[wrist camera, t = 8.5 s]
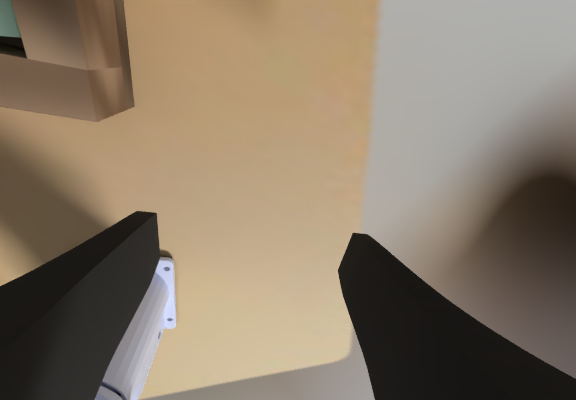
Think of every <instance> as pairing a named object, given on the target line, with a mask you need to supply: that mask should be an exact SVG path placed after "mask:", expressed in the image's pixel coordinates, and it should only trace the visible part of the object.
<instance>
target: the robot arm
mask: <svg viewBox="0 0 576 400" xmlns="http://www.w3.org/2000/svg"><path fill="white" fill-rule="evenodd" d="M167 267H169V268H167ZM338 274H339V279H340V284H341V289H342V293H343V297H344V300H345V303H346V306H347V309H348V312H349V315H350V318H351V321H352V323H353V326H354V329H355V332H356V335H357V338H358V341H359V344H360V346H361V349H362V352H363V356H364V359H365V362H366V365H367V369H368V373H369V377H370V381H371V385H372V389H373V393H374V397H375V400H576V379H575V378H573V377H571V376H569V375H568V374H566V373H564V372H562V371H560V370H558V369H557V368H555V367H553V366H551V365H549V364H547V363H546V362H544V361H542V360H541V359H539V358H537V357H535V356H534V355H532V354H530V353H528V352H527V351H525V350H523V349H521V348H520V347H518V346H517V345H515V344H514V343H512V342H510V341H509V340H507V339H505V338H504V337H502V336H501V335H499V334H497V333H496V332H494V331H493V330H491V329H490V328H488V327H486V326H485V325H483V324H482V323H480V322H479V321H477V320H476V319H474V318H473V317H472V316H470V315H469V314H467V313H466V312H464V311H463V310H461V309H460V308H459V307H457V306H456V305H454V304H453V303H451V302H450V301H449V300H448V299H446V298H445V297H443V296H442V295H441V294H440V293H438V292H437V291H436V290H435V289H433V288H432V287H431V286H429V285H428V284H427V283H426V282H424V281H423V280H422V279H421V278H419V277H418V276H417V275H416V274H415V273H413V272H412V271H411V270H410V269H409V268H407V267H406V266H405V265H404V264H403V263H402V262H400V261H399V260H398V259H397V258H395V256H393V255H392V254H391V253H390V252H389V251H388V250H386V249H385V248H384V247H383V246H381V245H380V244H379V243H378V242H377V241H376V240H374V239H373V238H372V237H370V236H369V235H367V234H359V233H353V234H352V237H351V239H350V242H349V244H348V247H347V249H346V252H345V254H344V256H343V259H342V261H341V264H340V266H339V269H338ZM176 323H177V322H176V298H175V273H174V261H173V260H172V259H171V258H168V257H160V249H159V237H158V225H157V213H151V212H142V211H136V212H135V213H133V214H131V215H129V216H128V217H126V218H124V219H122V220H121V221H119V222H117V223H116V224H114V225H112V226H111V227H109V228H108V229H106V230H104V231H103V232H101V233H99V234H97V235H96V236H94V237H92V238H91V239H89V240H87V241H85V242H84V243H82V244H80V245H79V246H77V247H75V248H73V249H71V250H70V251H68V252H66V253H64V254H62V255H60V256H59V257H57V258H55V259H53V260H51V261H49V262H47V263H46V264H44V265H42V266H40V267H38V268H36V269H34V270H33V271H31V272H29V273H27V274H25V275H23V276H21V277H19V278H17V279H14V280H12V281H10V282H8V283H6V284H4V285H2V286H0V400H138V398H139V396H140V395H141V392H142V390H143V388H144V385H145V382H146V379H147V376H148V374H149V371H150V368H151V365H152V362H153V359H154V357H155V354H156V351H157V348H158V345H159V342H160V340H161V337H162V334H163V331H164V328H167V329H171V328H174V327H175V326H176Z"/></svg>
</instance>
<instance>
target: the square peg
mask: <svg viewBox="0 0 576 400" xmlns="http://www.w3.org/2000/svg"><path fill="white" fill-rule="evenodd" d="M0 36H7V37H21V34H20V31H19V27H18V24H17V20H16V16H15V13H14V9H13V6H12V2H11V0H0Z"/></svg>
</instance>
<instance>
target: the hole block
mask: <svg viewBox="0 0 576 400" xmlns="http://www.w3.org/2000/svg"><path fill="white" fill-rule="evenodd" d="M11 2H12V6H13V9H14V13H15V16H16V20H17V24H18V27H19V31H20V34H21V37H7V36H0V107H5V108H11V109H17V110H24V111H30V112H36V113H43V114H49V115H55V116H62V117H68V118H74V119H80V120H87V121H93V122H98V121H101V120H103V119H106V118H108V117H110V116H113V115H115V114H118V113H120V112H123V111H125V110H127V109H130V108H132V107H134V98H133V89H132V79H131V70H130V60H129V50H128V41H127V31H126V21H125V12H124V2H123V0H11Z"/></svg>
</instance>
